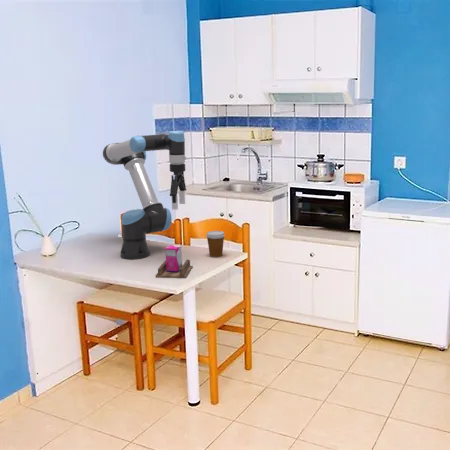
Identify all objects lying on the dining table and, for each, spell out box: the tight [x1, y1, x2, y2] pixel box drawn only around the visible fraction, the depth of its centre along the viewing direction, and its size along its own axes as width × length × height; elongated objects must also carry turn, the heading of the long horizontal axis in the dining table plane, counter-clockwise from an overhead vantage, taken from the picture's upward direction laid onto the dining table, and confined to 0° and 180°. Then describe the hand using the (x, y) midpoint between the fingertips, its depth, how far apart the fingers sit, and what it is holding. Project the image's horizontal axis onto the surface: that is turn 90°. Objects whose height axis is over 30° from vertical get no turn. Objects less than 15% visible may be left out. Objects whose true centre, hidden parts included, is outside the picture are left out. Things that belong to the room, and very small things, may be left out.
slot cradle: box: [155, 259, 194, 279], centre depth 261 cm, size 14×16×4 cm
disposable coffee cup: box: [205, 230, 226, 258], centre depth 287 cm, size 10×10×12 cm
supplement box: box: [164, 244, 183, 273], centre depth 260 cm, size 6×6×12 cm
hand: (178, 206), depth 277 cm, fingers open, 13 cm apart
